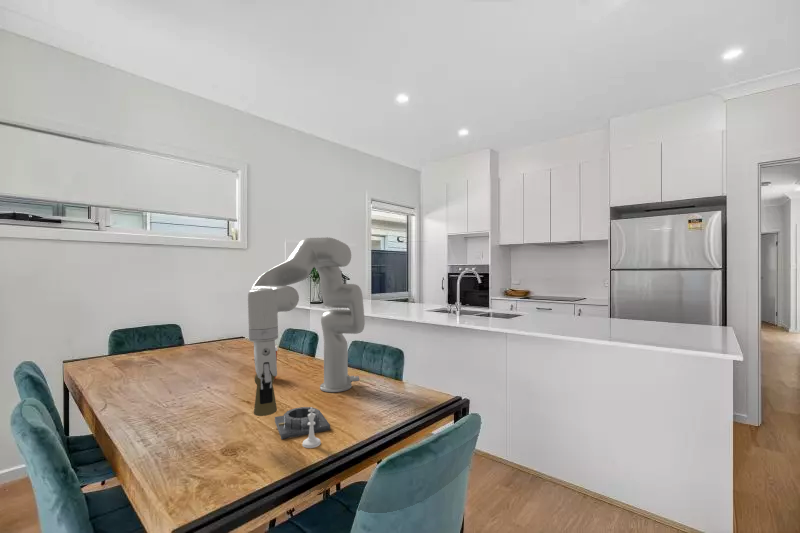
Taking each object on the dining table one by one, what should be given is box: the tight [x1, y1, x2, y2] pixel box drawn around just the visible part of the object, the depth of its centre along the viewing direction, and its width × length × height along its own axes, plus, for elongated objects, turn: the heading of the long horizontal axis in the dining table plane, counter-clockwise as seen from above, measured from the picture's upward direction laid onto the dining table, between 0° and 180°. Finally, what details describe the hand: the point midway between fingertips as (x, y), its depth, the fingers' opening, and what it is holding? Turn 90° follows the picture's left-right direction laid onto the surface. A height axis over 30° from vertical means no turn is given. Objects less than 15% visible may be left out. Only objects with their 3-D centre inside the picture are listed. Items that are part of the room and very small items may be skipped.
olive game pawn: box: [253, 373, 278, 417], centre depth 105 cm, size 6×6×11 cm
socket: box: [274, 406, 331, 440], centre depth 117 cm, size 14×14×4 cm
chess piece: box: [301, 406, 322, 449], centre depth 105 cm, size 5×5×10 cm
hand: (265, 399), depth 105 cm, fingers closed on olive game pawn, 4 cm apart
